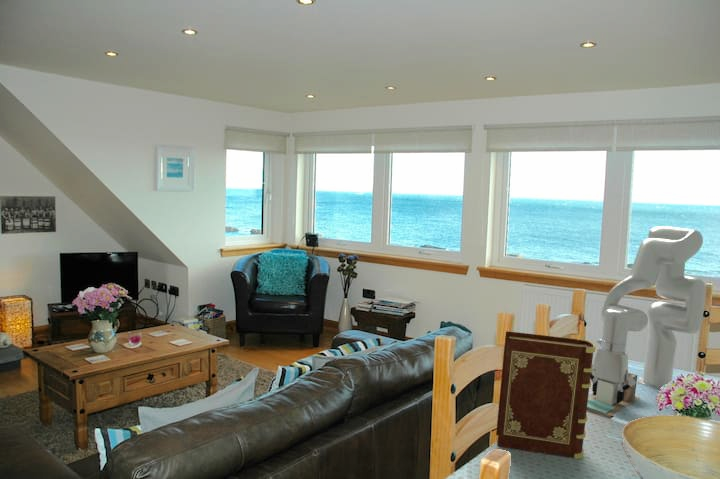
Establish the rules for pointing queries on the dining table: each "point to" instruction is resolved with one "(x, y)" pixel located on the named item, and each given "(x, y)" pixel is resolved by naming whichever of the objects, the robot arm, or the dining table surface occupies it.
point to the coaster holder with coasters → (611, 409)
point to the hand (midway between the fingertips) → (607, 397)
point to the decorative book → (544, 394)
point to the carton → (606, 392)
